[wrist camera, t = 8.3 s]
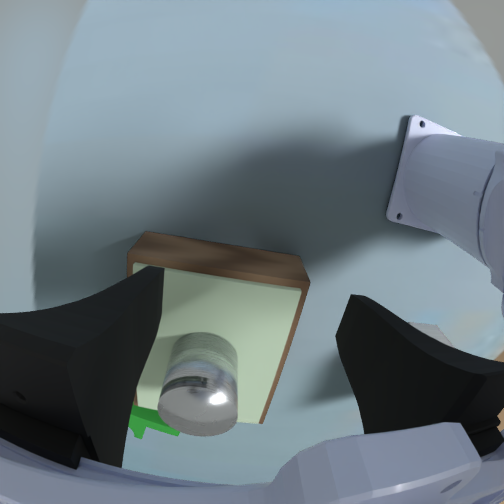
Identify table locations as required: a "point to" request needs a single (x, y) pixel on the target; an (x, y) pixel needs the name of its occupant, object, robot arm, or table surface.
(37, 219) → the table surface
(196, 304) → the walnut stand
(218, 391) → the grey metal cylinder
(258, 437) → the table surface
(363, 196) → the table surface
